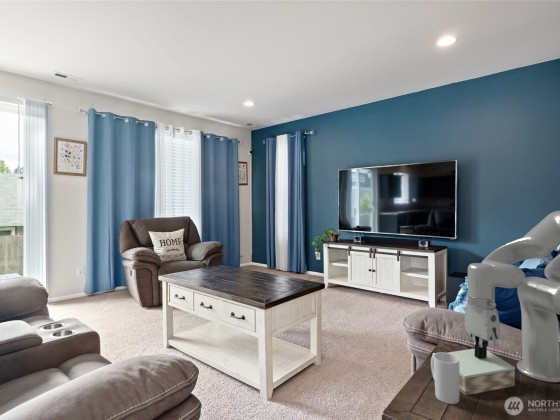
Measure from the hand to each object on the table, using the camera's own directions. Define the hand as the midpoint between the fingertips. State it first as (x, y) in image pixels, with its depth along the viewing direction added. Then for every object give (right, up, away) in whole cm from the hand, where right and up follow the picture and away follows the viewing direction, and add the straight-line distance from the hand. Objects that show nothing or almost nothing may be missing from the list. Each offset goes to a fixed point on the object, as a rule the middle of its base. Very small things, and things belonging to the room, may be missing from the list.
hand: (480, 357), depth 106 cm
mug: (-17, -7, -9) cm, 20 cm away
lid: (-3, -1, -2) cm, 4 cm away
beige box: (-3, -7, -2) cm, 7 cm away
